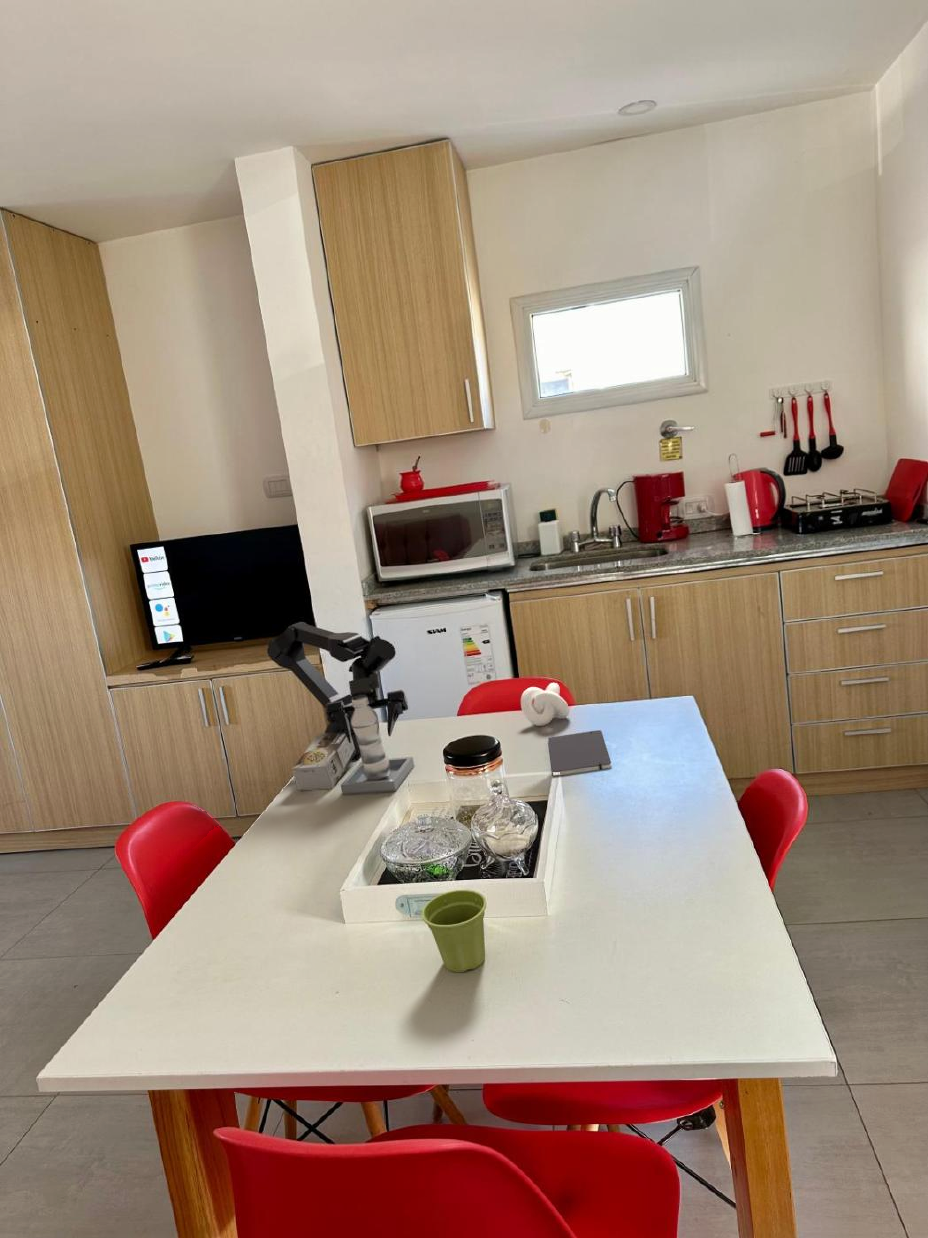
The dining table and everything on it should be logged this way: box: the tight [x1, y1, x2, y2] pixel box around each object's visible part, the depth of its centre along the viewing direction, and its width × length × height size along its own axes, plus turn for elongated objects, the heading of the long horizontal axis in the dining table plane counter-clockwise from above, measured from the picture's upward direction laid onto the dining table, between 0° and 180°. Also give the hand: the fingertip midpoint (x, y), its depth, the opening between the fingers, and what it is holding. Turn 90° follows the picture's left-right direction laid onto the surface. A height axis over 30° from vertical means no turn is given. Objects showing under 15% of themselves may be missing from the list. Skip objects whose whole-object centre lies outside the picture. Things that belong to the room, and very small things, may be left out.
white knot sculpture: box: [520, 682, 570, 727], centre depth 219 cm, size 11×12×9 cm
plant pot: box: [421, 889, 487, 973], centre depth 124 cm, size 9×9×9 cm
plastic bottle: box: [351, 695, 390, 781], centre depth 198 cm, size 6×7×20 cm
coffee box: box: [291, 732, 356, 791], centre depth 208 cm, size 9×6×16 cm
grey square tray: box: [340, 756, 415, 796], centre depth 200 cm, size 14×13×2 cm
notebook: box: [547, 729, 612, 776], centre depth 194 cm, size 13×2×21 cm
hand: (369, 739), depth 197 cm, fingers open, 9 cm apart
